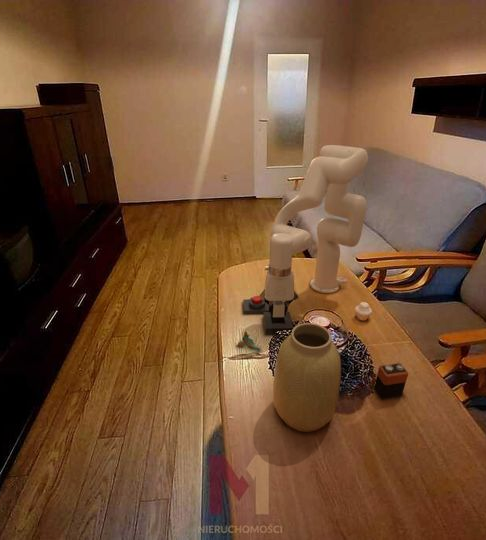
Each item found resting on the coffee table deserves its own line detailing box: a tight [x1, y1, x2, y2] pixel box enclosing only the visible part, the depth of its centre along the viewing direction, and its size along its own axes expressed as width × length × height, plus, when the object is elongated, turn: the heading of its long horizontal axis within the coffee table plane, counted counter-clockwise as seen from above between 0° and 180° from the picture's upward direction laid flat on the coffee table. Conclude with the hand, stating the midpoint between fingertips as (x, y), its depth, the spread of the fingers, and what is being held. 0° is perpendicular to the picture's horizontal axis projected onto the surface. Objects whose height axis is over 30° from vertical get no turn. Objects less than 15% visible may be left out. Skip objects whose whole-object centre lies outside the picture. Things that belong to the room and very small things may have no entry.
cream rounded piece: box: [354, 301, 373, 321], centre depth 132 cm, size 6×6×7 cm
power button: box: [252, 295, 262, 304], centre depth 139 cm, size 4×4×2 cm
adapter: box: [262, 311, 294, 336], centre depth 129 cm, size 10×10×3 cm
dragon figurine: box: [236, 330, 260, 355], centre depth 120 cm, size 6×7×8 cm
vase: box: [272, 322, 342, 433], centre depth 90 cm, size 17×17×27 cm
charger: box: [273, 301, 285, 317], centre depth 126 cm, size 4×4×6 cm
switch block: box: [242, 296, 269, 315], centre depth 140 cm, size 11×8×4 cm
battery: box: [373, 362, 409, 399], centre depth 100 cm, size 4×7×10 cm, turn 100°
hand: (277, 312), depth 127 cm, fingers closed on charger, 4 cm apart
